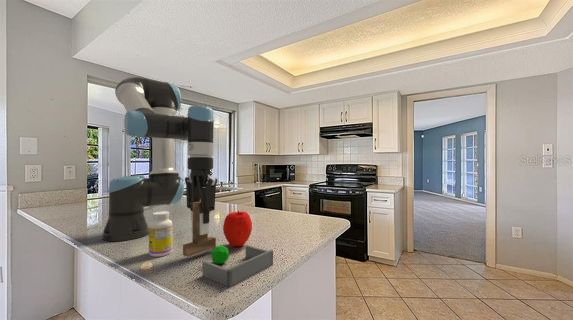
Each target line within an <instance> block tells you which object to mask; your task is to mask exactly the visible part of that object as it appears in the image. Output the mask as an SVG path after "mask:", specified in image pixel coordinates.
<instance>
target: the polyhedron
mask: <svg viewBox="0 0 573 320" xmlns="http://www.w3.org/2000/svg"><path fill="white" fill-rule="evenodd" d="M211 250H212V251H211V253H210V256H211V257H210V258H211V260H212V262H213V264H215V265H222V264H223V263H225V262H226V261H227V260H229V256H230V252H229V248H227V247H226V245H225V246H224V245H221V244H220V245H216V247H215V248H212V249H211Z"/></svg>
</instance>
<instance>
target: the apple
mask: <svg viewBox="0 0 573 320" xmlns="http://www.w3.org/2000/svg"><path fill="white" fill-rule="evenodd" d="M223 221H224V222H223V226H222V228H223V229H222V231H223V232H222V233H223V234H224V236H225V239H226V241H227V242H228V244H229V246H231V247H242V246H244V245H245V244H246V243H247V242H248V240H249V238H250V237H251V234H252V230H253V222H252V218H251V216H250V214H249V213H248V212H247V211H240V210H238V211H233V212H229V213H227V215H226V216H225V218H224V220H223Z"/></svg>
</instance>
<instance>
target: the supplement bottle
mask: <svg viewBox="0 0 573 320" xmlns="http://www.w3.org/2000/svg"><path fill="white" fill-rule="evenodd" d="M169 217H170V212H169V211H164V210H163V211H157V212H153V213H152V219H153V220H152V221H150V223H149V224H148V228H149V229H148V255H149V256H150V257H153V258H157V257H158V258H159V257H165V256H167V255H170V254H171V253H172V252H173V221H172V220H171V219H169Z"/></svg>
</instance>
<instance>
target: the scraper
mask: <svg viewBox="0 0 573 320" xmlns="http://www.w3.org/2000/svg"><path fill="white" fill-rule="evenodd" d="M200 211H202V210H201V200H200V201H199V202H193V233H192V232H191V234H192V241H191V242H188V243H185V244H182V255H183V256H184V257H186V258H188V257H192V256H193V255H197V254H200V253H203V252H206V251H209V250H213V249H215V248H216V247H217V241H216V240H217V238H216V237H213V236H208V235H209V233H207V234H204V235H200Z"/></svg>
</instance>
